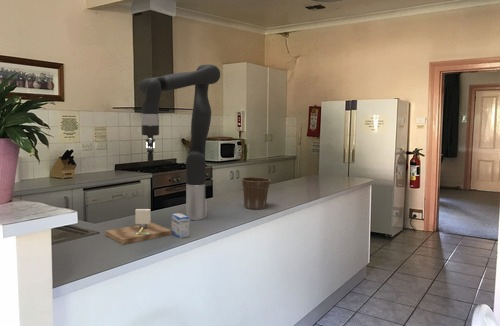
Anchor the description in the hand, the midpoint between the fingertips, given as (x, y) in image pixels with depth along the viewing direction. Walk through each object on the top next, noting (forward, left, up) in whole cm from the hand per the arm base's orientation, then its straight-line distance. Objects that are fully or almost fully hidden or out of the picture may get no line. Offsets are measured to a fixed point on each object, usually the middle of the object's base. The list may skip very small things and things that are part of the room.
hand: (150, 161), depth 185 cm
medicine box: (-4, +18, -30) cm, 36 cm away
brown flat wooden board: (+10, +8, -30) cm, 33 cm away
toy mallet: (+9, +9, -28) cm, 31 cm away
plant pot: (-67, -2, -30) cm, 74 cm away
